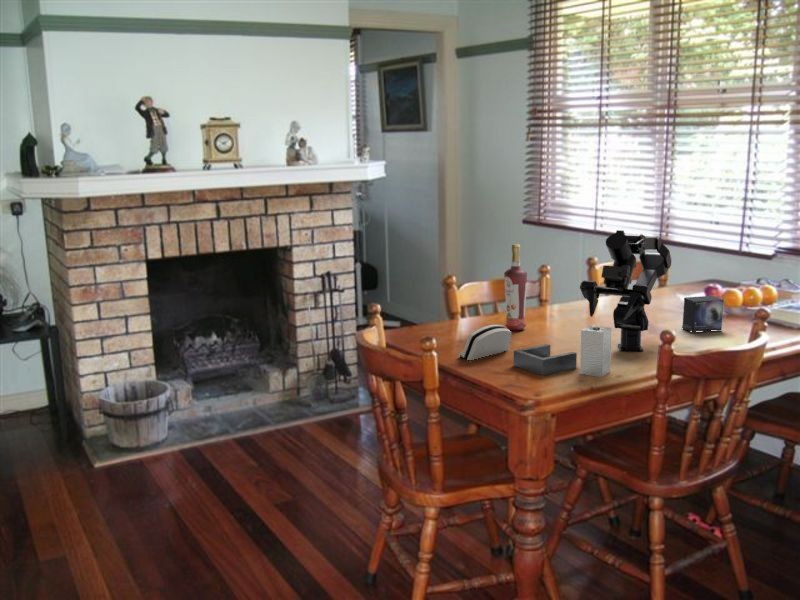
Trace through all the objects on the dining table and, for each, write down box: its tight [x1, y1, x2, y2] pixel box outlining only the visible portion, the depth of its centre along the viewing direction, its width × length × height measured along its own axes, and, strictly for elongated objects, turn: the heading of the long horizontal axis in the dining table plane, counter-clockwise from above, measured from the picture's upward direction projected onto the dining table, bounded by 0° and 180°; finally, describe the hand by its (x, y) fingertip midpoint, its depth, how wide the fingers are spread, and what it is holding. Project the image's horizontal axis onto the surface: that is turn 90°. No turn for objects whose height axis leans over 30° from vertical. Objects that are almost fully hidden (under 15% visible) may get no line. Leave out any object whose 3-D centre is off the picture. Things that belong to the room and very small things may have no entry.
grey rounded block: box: [457, 324, 513, 361], centre depth 234 cm, size 17×5×10 cm, turn 132°
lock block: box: [579, 325, 612, 378], centre depth 213 cm, size 6×6×12 cm
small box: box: [681, 295, 724, 332], centre depth 256 cm, size 11×6×10 cm, turn 102°
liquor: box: [503, 243, 528, 332], centre depth 262 cm, size 7×7×28 cm
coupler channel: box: [513, 343, 578, 376], centre depth 220 cm, size 12×12×4 cm
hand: (607, 317), depth 218 cm, fingers open, 9 cm apart
